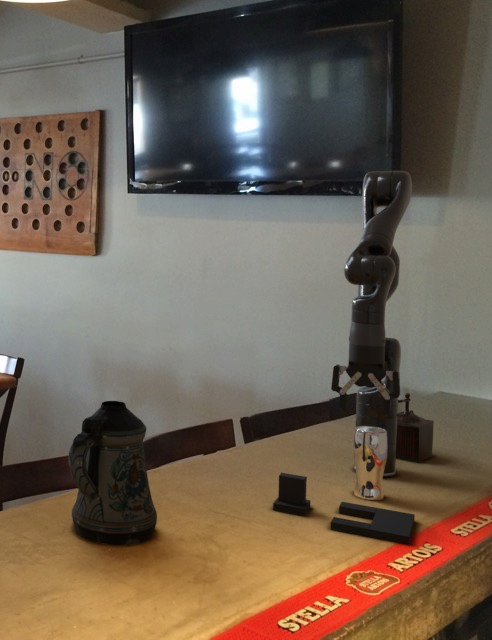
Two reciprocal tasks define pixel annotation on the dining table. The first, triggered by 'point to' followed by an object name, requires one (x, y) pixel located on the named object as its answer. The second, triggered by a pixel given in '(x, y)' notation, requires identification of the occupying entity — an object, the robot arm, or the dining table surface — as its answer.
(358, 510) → the large pad
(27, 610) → the dining table surface
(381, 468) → the beer glass
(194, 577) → the dining table surface
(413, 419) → the brown coffee grinder
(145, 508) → the beer stein
